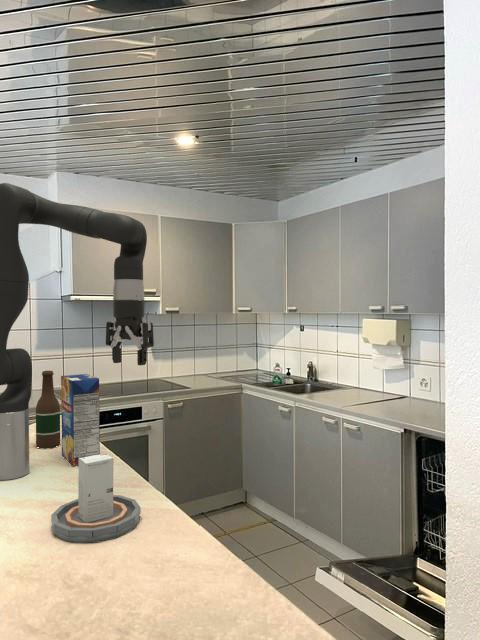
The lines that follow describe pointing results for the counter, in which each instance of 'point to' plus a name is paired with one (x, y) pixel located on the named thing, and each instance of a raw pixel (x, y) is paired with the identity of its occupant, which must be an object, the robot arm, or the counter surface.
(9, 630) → the counter surface
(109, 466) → the skincare box
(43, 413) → the beer bottle
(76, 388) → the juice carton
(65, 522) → the ring tray
